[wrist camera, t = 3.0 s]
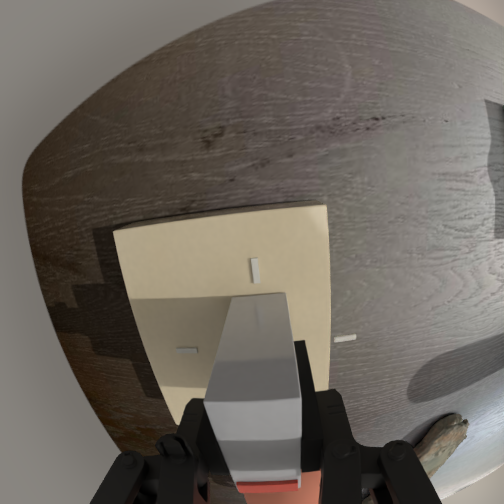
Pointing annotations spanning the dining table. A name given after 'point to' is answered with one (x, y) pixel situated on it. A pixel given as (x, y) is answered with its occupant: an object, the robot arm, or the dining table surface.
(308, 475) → the sugar bowl
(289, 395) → the tap handle
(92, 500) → the robot arm
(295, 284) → the base
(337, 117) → the dining table surface
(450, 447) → the long grey stone
